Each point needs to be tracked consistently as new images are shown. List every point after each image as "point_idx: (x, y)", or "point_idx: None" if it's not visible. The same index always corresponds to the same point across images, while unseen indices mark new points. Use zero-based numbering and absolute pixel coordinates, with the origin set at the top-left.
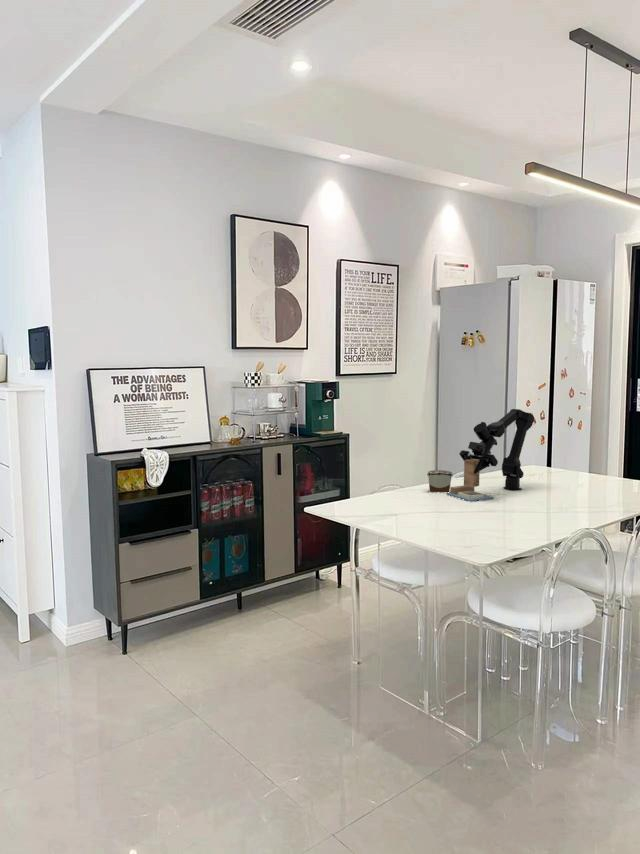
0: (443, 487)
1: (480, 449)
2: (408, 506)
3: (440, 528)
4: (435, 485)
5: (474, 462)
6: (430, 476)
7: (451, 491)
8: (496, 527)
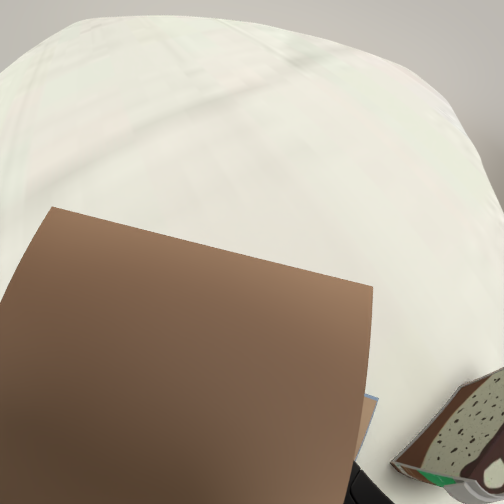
0: (434, 437)
1: None
2: (334, 120)
3: (154, 41)
4: (470, 401)
5: (35, 279)
6: None
7: None
8: (42, 86)
